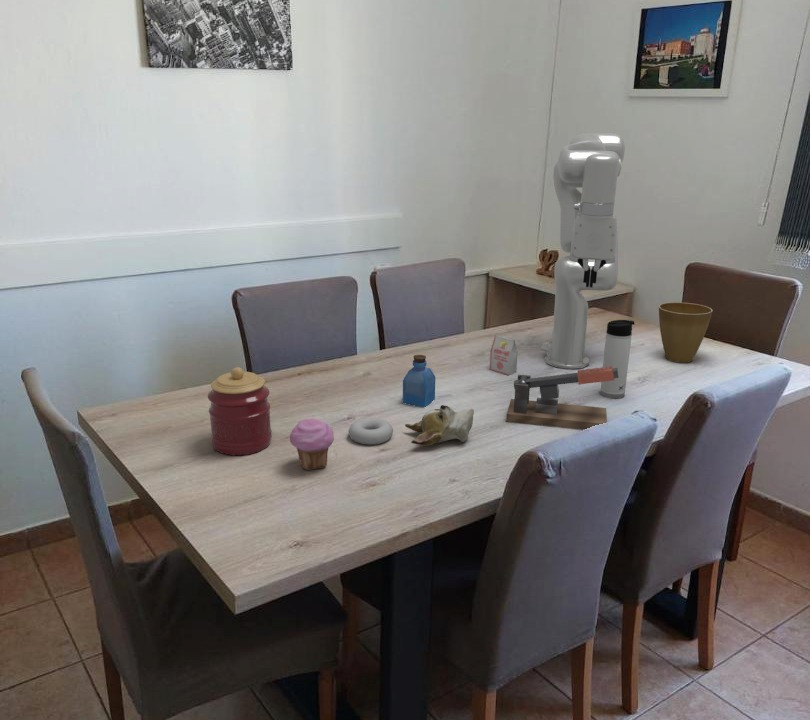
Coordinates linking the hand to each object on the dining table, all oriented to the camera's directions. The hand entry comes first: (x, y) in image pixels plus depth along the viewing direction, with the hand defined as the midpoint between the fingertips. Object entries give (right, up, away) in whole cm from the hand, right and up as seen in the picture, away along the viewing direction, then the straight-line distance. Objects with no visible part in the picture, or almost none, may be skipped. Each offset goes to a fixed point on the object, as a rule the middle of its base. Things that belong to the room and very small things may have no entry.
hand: (589, 285), depth 173 cm
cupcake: (-64, -40, -25) cm, 79 cm away
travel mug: (+10, -27, +15) cm, 32 cm away
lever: (-6, -26, -4) cm, 27 cm away
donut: (-52, -36, -12) cm, 64 cm away
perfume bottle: (-41, -29, +9) cm, 51 cm away
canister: (-80, -36, -16) cm, 90 cm away
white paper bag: (-17, -21, +31) cm, 41 cm away
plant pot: (+38, -18, +43) cm, 60 cm away
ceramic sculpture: (-37, -36, -13) cm, 53 cm away
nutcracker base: (-8, -32, -1) cm, 33 cm away
